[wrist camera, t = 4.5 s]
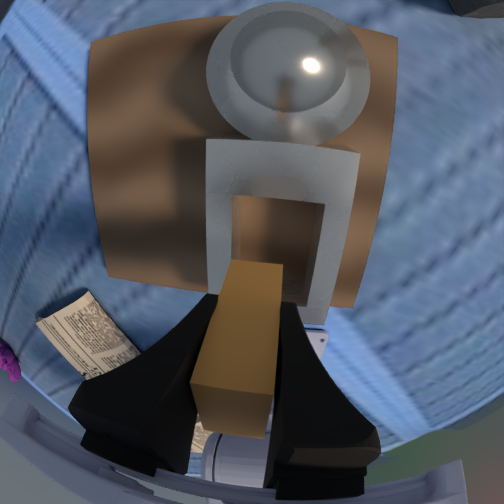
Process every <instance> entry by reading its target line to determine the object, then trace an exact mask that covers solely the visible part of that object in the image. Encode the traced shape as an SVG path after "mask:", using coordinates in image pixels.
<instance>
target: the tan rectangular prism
mask: <svg viewBox="0 0 504 504" xmlns="http://www.w3.org/2000/svg"><path fill="white" fill-rule="evenodd" d="M282 276H283V264H273V263H262V262H252V261H242V260H232V259H231V262H230V265H229V268H228V270H227V273H226V276H225V279H224V282H223V285H222V288H221V291H220V294H219V296H218V303H217V306H216V309H215V311H214V313H213V315H212V317H211V320H210V323H209V326H208V329H207V332H206V335H205V338H204V341H203V344H202V347H201V350H200V353H199V356H198V359H197V362H196V365H195V368H194V371H193V374H192V377H191V380H190V386H191V389H192V393H193V397H194V400H195V404H196V407H197V411H198V414H199V418H200V421H201V424H202V427H203V430H206V431H211V432H216V433H222V434H229V435H235V436H243V437H251V438H260V439H264V436H265V432H266V428H267V423H268V419H269V414H270V410H271V405H272V401H273V396H274V387H275V376H276V364H277V351H278V338H279V324H280V306H281V293H282Z"/></svg>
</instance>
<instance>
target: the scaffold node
mask: <svg viewBox="0 0 504 504" xmlns="http://www.w3.org/2000/svg"><path fill="white" fill-rule="evenodd" d="M206 79H207V85H208V89H209V92H210V96H211V98H212V100H213V102H214V104H215V106H216V108H217V109H218V111H219V112H220V114H221V115H222V116H223V117H224V118H225V120H226V121H227V122H228V123H229V124H231V125H232V126H233V127H234V128H235V129H236V130H238V131H239V132H241V133H242V134H244V135H228V134H221V135H217V136H214V137H211V138H207V139H206V243H207V274H208V293H209V294H217V295H219V294H220V291H221V288H222V285H223V282H224V279H225V276H226V273H227V270H228V268H229V265H230V262H231V259H232V260H240V234H241V208H242V195H244V196H256V197H267V198H277V199H287V200H296V201H305V202H314V203H317V205H316V212H315V218H314V225H313V232H312V238H311V244H310V250H309V256H308V262H307V268H306V274H305V278H302V277H292V276H282V293H281V301H282V302H293V303H296V305H297V308H298V311H299V315H300V318H301V321H302V323H303V324H313V325H324V323H325V320H326V316H327V313H328V309H329V306H330V302H331V298H332V294H333V291H334V287H335V283H336V279H337V275H338V271H339V267H340V262H341V258H342V254H343V249H344V245H345V240H346V235H347V230H348V225H349V220H350V215H351V210H352V205H353V199H354V193H355V187H356V181H357V175H358V168H359V161H360V154H361V153H359V152H357V151H355V150H353V149H351V148H349V147H348V146H343V145H337V144H330V143H323V142H326V141H328V140H330V139H332V138H334V137H336V136H338V135H339V134H341V133H342V132H344V131H345V130H346V129H347V128H348V127H349V126H351V124H352V123H353V122H354V121H355V120H356V119H357V117H358V116H359V114H360V113H361V111H362V110H363V108H364V105H365V103H366V101H367V98H368V94H369V89H370V69H369V63H368V60H367V57H366V54H365V52H364V49H363V47H362V45H361V44H360V42H359V41H358V39H357V38H356V36H355V35H354V34H353V33H352V31H351V30H350V29H349V28H348V27H347V26H346V25H344V24H343V23H342V22H341V21H340V20H338V19H337V18H335V17H334V16H332V15H331V14H329V13H327V12H325V11H323V10H320V9H318V8H315V7H313V6H309V5H305V4H300V3H292V2H278V3H270V4H265V5H260V6H257V7H255V8H252V9H249V10H247V11H245V12H243V13H241V14H240V15H238V16H237V17H235V18H234V19H233V20H231V21H230V22H229V23H228V24H227V25H226V26H225V27H224V28H223V29H222V30H221V32H220V33H219V34H218V36H217V37H216V39H215V40H214V42H213V45H212V47H211V49H210V52H209V55H208V59H207V66H206Z"/></svg>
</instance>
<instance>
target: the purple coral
mask: <svg viewBox="0 0 504 504" xmlns="http://www.w3.org/2000/svg"><path fill="white" fill-rule="evenodd" d="M1 368H2V369H3V370H4V371H6V370H8V372H9V379H10V380H11V381H13V382H16V380H20V378H21V369H20V366H19V363H18V361H17V359H16V357H15V355H14V354H13V352H12V351H11V350H10V349H9V348H8V347H6V346H5V345H4V344H3V343H1V342H0V369H1Z"/></svg>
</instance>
